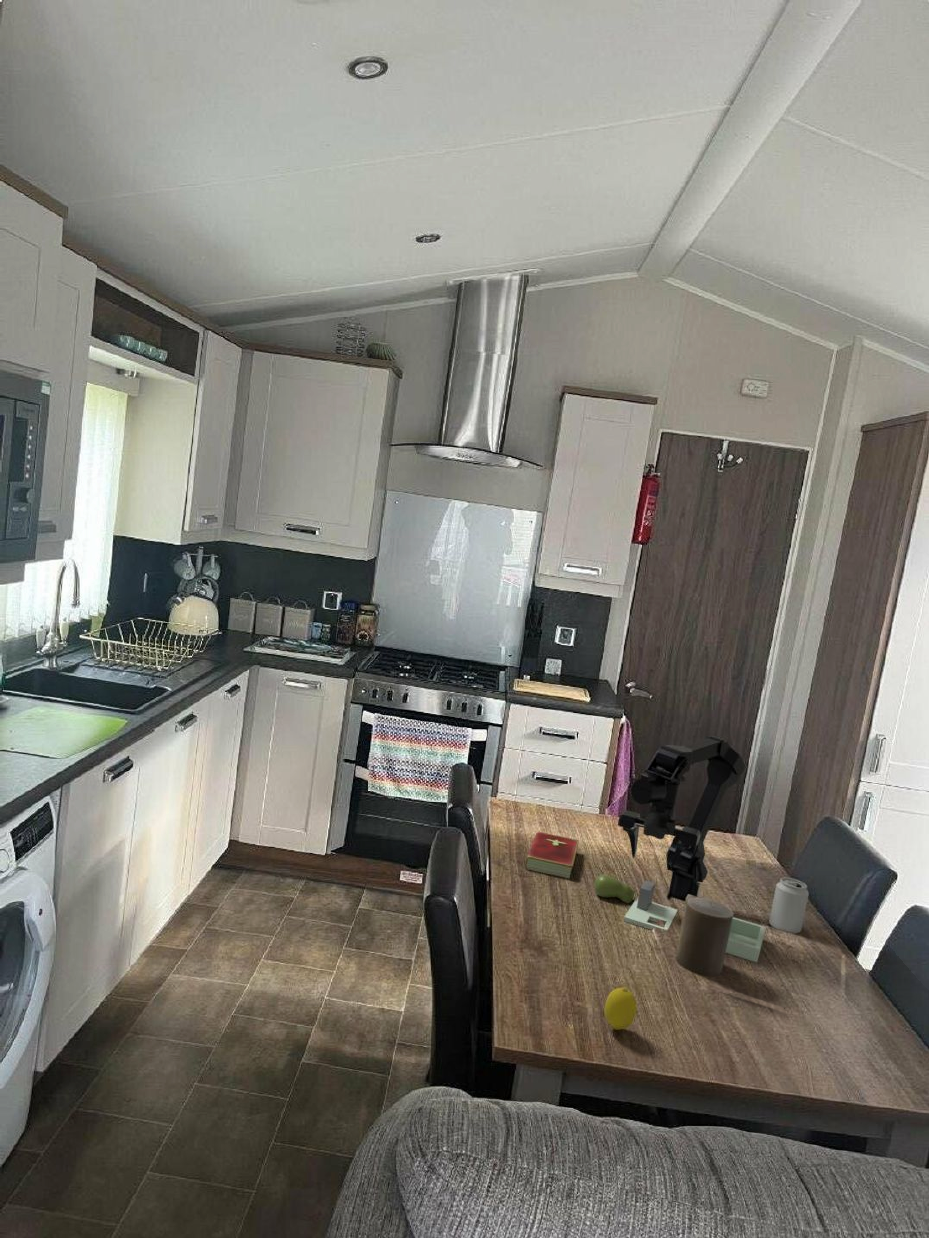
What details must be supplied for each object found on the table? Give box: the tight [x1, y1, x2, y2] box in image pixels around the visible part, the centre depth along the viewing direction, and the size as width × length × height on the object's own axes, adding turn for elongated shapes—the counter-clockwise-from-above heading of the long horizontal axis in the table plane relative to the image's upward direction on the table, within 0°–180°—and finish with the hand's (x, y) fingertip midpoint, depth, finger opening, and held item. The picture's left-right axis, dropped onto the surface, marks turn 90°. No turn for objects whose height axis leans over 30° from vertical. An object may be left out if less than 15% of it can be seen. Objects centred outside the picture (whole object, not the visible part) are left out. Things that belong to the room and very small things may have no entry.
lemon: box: [604, 987, 637, 1031], centre depth 167 cm, size 6×6×8 cm
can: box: [768, 877, 810, 935], centre depth 225 cm, size 8×8×12 cm
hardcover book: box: [524, 831, 580, 879], centre depth 247 cm, size 12×21×4 cm, turn 169°
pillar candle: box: [674, 896, 734, 977], centre depth 196 cm, size 10×10×15 cm
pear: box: [593, 874, 636, 904], centre depth 228 cm, size 6×5×10 cm
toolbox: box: [725, 916, 766, 963], centre depth 210 cm, size 10×14×4 cm
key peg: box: [679, 894, 701, 933], centre depth 212 cm, size 3×3×9 cm
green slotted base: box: [623, 879, 679, 931], centre depth 220 cm, size 10×14×6 cm
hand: (652, 862), depth 223 cm, fingers open, 9 cm apart
